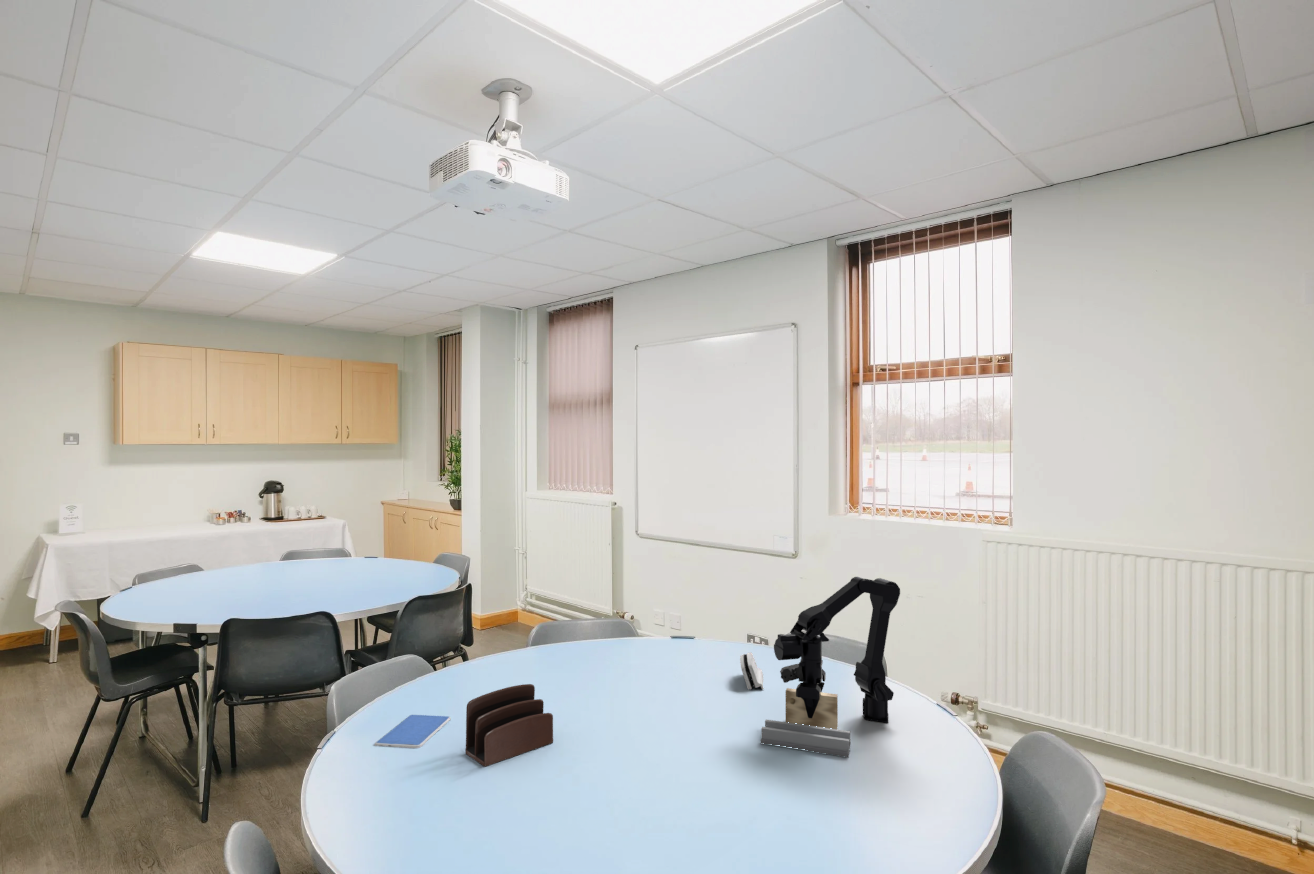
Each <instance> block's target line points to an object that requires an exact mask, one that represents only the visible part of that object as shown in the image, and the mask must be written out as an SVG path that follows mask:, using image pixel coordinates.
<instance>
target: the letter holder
mask: <svg viewBox="0 0 1314 874" xmlns="http://www.w3.org/2000/svg"><path fill="white" fill-rule="evenodd" d="M535 691H536V687H535V684H531V683H527V684H519V685H518V684H517V685H513V686H507V687H505V688H500V689H497V690H494V691H491V692H488V693H485V694H482V695H480V696H478V697H475V698H472V699H471V700H469V701H468V702H467V704H466V708H465V709H466V717H465V719H466V720H465V755H467V756H468V757H469V758H471V759H472V760H474V761H476V762H477V763H478V764H480V765H482V766H483V767H489V766H491V765H494V764H496V763H500V762H502V761H507V760H509V759H512V758H514V757H517V756H519V755H523V754H526V753H527V752H531V751H534V750H537V749H539V748H542V747H545V746H548V745H551V744H553V743H554V715H553V714H552V713H550V712H545V713H544V707H545V706H544V700H543V699H540V698H539V699H535V697H536V696H535Z"/></svg>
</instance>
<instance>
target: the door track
mask: <svg viewBox="0 0 1314 874" xmlns="http://www.w3.org/2000/svg"><path fill="white" fill-rule="evenodd" d="M760 736H761V738H760V744H761V743H764V744H772V745H780V746H786V747H792V748H798V749H805V750H808V751H807V752H809V751H814V752H813V753H816V752H819V753H818V754H822V753H826V754H825V755H829V754H833V755H832V756H835V755H839V756H838V757H842V756H845V757H844V758H849V755H850V750H849V749H851V741H852V740H851V731H850V730H842V729H838V728H837V729H830V728H823V727H816V726H809V725H802V724H795V723H788V722H786V721H779V720H773V719H765V721H764V726H761V735H760ZM764 744H763V745H764Z"/></svg>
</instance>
